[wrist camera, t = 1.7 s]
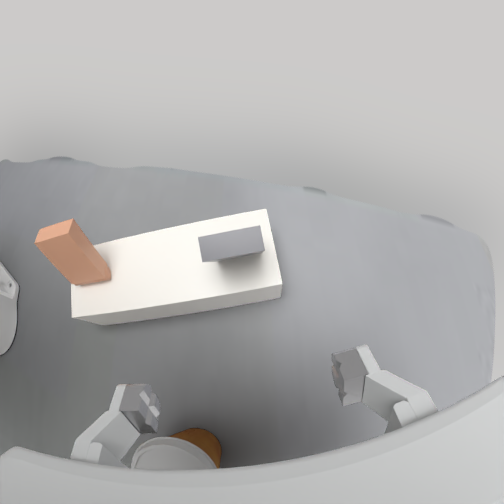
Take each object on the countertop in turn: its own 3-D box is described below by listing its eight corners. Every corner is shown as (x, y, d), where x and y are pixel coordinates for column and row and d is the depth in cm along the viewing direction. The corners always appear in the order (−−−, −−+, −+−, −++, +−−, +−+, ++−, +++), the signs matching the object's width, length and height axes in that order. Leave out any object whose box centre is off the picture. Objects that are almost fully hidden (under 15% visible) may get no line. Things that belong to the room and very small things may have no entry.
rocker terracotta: (109, 283, 32) (68, 233, 24) (77, 289, 32) (34, 243, 24) (111, 269, 33) (73, 218, 26) (80, 276, 33) (39, 229, 26)
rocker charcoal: (261, 253, 32) (264, 250, 23) (216, 261, 32) (202, 262, 23) (258, 235, 32) (260, 225, 23) (213, 243, 32) (197, 237, 23)
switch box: (280, 297, 39) (282, 283, 31) (103, 325, 39) (71, 317, 31) (267, 233, 42) (265, 207, 34) (100, 266, 42) (72, 249, 34)
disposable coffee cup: (179, 404, 35) (143, 422, 23) (245, 435, 33) (234, 468, 21) (155, 457, 32) (116, 486, 21) (217, 487, 30) (197, 530, 19)
